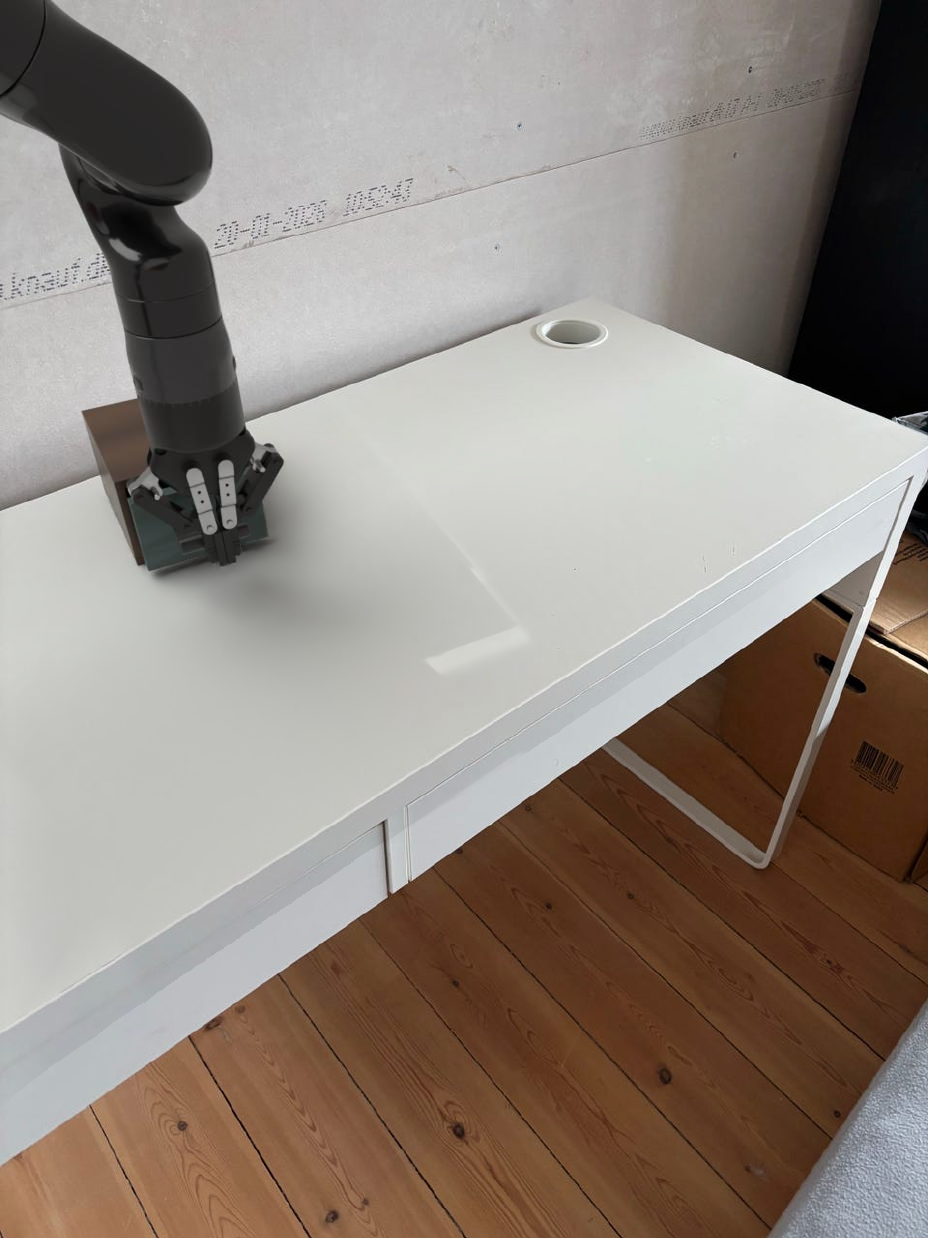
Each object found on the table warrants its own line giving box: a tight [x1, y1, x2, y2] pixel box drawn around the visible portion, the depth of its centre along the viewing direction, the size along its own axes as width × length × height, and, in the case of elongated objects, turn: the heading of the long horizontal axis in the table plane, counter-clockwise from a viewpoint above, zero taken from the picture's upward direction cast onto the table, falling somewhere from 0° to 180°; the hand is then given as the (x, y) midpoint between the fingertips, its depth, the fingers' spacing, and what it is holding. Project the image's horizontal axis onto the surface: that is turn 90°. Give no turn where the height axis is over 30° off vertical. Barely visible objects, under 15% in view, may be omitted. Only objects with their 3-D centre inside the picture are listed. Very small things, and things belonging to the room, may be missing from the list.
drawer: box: [125, 466, 269, 572], centre depth 91 cm, size 18×11×7 cm, turn 27°
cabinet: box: [80, 397, 251, 566], centre depth 95 cm, size 15×13×9 cm
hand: (225, 560), depth 85 cm, fingers closed
